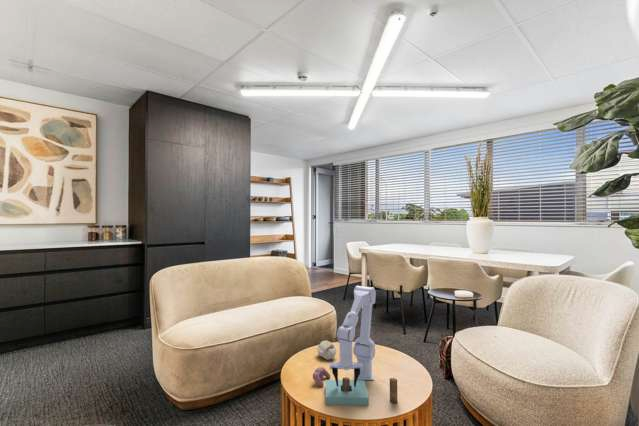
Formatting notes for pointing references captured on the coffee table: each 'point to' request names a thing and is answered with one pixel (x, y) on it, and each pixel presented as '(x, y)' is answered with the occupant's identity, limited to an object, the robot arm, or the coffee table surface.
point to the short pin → (345, 384)
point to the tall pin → (393, 390)
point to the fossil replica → (326, 350)
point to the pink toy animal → (320, 375)
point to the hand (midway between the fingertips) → (346, 385)
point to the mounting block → (346, 393)
